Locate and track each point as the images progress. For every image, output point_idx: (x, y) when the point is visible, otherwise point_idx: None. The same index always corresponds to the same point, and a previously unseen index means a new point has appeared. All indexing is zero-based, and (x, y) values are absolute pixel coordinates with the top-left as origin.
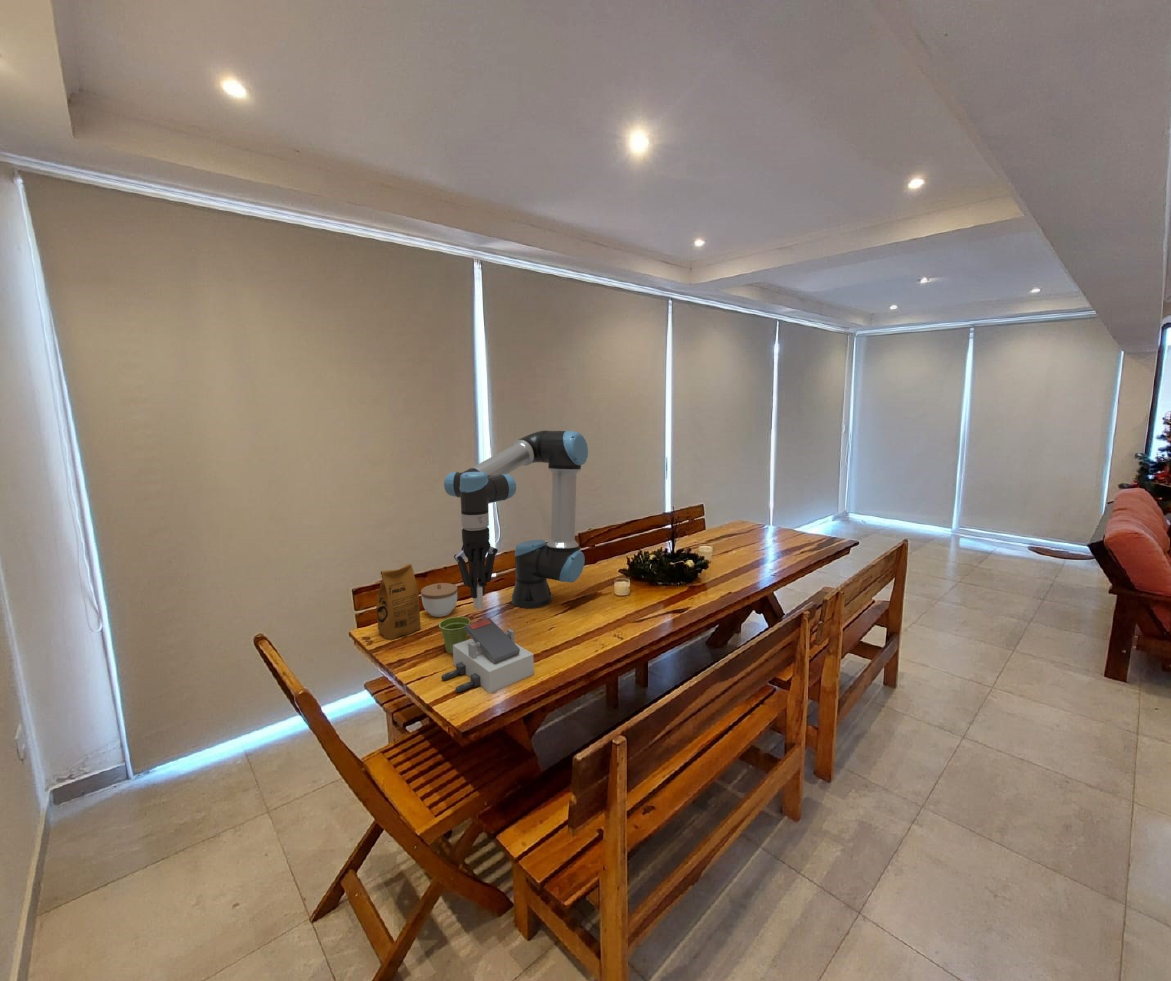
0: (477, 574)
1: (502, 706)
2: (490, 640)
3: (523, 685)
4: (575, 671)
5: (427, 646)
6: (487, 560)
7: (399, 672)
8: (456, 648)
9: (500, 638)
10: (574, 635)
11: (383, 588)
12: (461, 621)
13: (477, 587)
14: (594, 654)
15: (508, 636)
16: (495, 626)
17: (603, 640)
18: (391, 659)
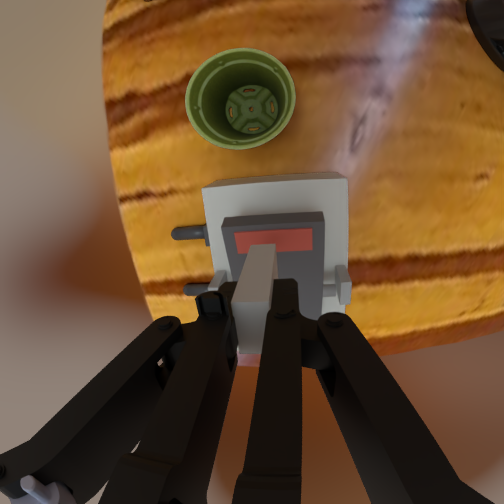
0: (261, 360)
1: (238, 358)
2: None
3: None
4: (391, 348)
5: (197, 57)
6: (380, 469)
7: (115, 148)
8: (205, 210)
9: (299, 309)
10: (486, 240)
11: None
12: (277, 70)
13: (240, 349)
14: (451, 321)
15: (338, 281)
16: (316, 265)
17: (493, 290)
18: (117, 85)
